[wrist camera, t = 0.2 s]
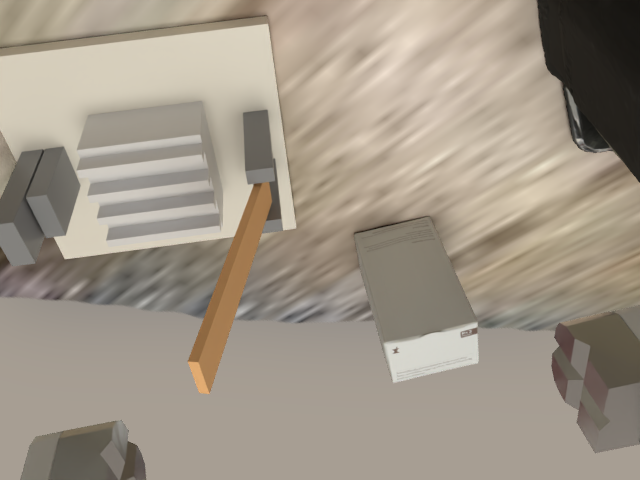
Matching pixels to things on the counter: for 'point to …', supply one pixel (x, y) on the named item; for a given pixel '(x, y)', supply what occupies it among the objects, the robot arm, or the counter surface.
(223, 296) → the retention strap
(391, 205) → the counter surface
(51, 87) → the socket board
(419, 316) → the skincare box
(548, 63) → the coffee maker
